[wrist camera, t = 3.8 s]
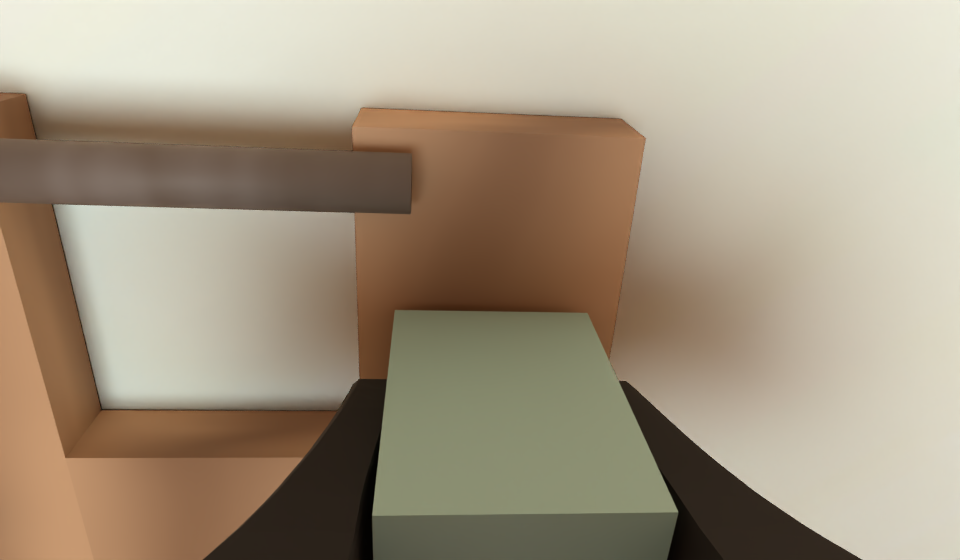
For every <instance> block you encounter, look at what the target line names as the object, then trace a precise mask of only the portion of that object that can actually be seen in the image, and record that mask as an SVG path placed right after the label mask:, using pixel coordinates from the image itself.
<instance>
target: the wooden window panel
mask: <svg viewBox="0 0 960 560" xmlns="http://www.w3.org/2000/svg"><path fill="white" fill-rule="evenodd" d="M645 139H646V138H645V137H644V136H642V135H641V134H640V133H638V132H637V131H636V130H635V129H633V128H632V127H631V126H630V125H628V124H627V123H626V122H625V121H623V120H622V119H612V118H588V117H564V116H540V115H516V114H493V113H469V112H445V111H421V110H397V109H373V108H361V110H360V112H359V114H358V116H357V118H356V120H355V122H354V124H353V126H352V142H353V151H336V150H308V149H281V148H253V147H226V146H199V145H171V144H144V143H116V142H89V141H61V140H36V136H35V132H34V128H33V124H32V120H31V116H30V111H29V107H28V103H27V99H26V95H25V94H16V93H0V560H203V559H204V558H205V557H206V556H207V555H208V554H210V553H211V552H212V551H213V550H214V549H215V548H216V547H217V546H219V545H220V544H221V543H222V542H223V541H224V540H225V539H227V538H228V537H229V536H230V535H231V534H232V533H233V532H234V531H236V530H237V529H238V528H239V527H240V526H241V525H242V524H243V523H244V522H245V521H246V520H247V519H248V518H249V517H250V516H251V515H252V514H253V513H254V512H255V511H256V510H257V509H258V508H259V507H260V506H261V505H262V504H263V503H264V502H265V501H266V500H267V499H268V498H269V497H270V496H271V495H272V493H273V492H274V491H275V490H276V489H277V488H278V487H279V486H280V485H281V484H282V482H283V481H284V480H285V479H286V478H287V476H288V475H289V474H290V473H291V472H292V471H293V469H294V468H295V467H296V466H297V465H298V463H299V462H300V461H301V460H302V459H303V458H304V456H305V455H306V454H307V453H308V451H309V450H310V449H311V447H312V446H313V445H314V443H315V442H316V441H317V439H318V438H319V437H320V435H321V434H322V432H323V431H324V430H325V428H326V427H327V426H328V424H329V423H330V421H331V420H332V418H333V417H334V415H335V414H336V412H337V411H164V410H101V407H100V403H99V399H98V395H97V390H96V386H95V382H94V378H93V374H92V370H91V365H90V361H89V357H88V353H87V349H86V345H85V340H84V336H83V332H82V328H81V324H80V320H79V315H78V311H77V307H76V303H75V299H74V295H73V290H72V286H71V282H70V278H69V274H68V270H67V265H66V261H65V257H64V253H63V249H62V245H61V241H60V236H59V232H58V228H57V224H56V220H55V216H54V211H53V207H52V204H69V205H104V206H139V207H174V208H209V209H243V210H278V211H313V212H348V213H355V242H356V275H357V308H358V341H359V374H360V379H387V376H388V367H389V358H390V349H391V339H392V330H393V321H394V312H395V310H430V311H497V312H564V313H588V315H589V317H590V320H591V322H592V324H593V326H594V328H595V331H596V333H597V335H598V337H599V339H600V342H601V344H602V346H603V348H604V350H605V352H606V355H607V357H608V359H609V358H610V352H611V346H612V340H613V334H614V328H615V322H616V316H617V309H618V303H619V297H620V291H621V285H622V279H623V273H624V267H625V261H626V255H627V249H628V243H629V236H630V230H631V224H632V218H633V212H634V206H635V200H636V194H637V188H638V182H639V176H640V170H641V163H642V157H643V151H644V145H645Z"/></svg>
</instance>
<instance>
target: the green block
mask: <svg viewBox="0 0 960 560" xmlns="http://www.w3.org/2000/svg"><path fill="white" fill-rule="evenodd" d="M677 516H678V510H677V508H676V506H675V504H674V502H673V499H672V497H671V495H670V493H669V491H668V488H667V486H666V484H665V482H664V480H663V477H662V475H661V473H660V471H659V469H658V466H657V464H656V462H655V460H654V458H653V455H652V453H651V451H650V449H649V447H648V445H647V442H646V440H645V438H644V436H643V434H642V431H641V429H640V427H639V425H638V423H637V420H636V418H635V416H634V414H633V412H632V409H631V407H630V405H629V403H628V401H627V399H626V396H625V394H624V392H623V390H622V388H621V385H620V383H619V381H618V379H617V377H616V374H615V372H614V370H613V368H612V366H611V363H610V361H609V359H608V357H607V355H606V352H605V350H604V348H603V346H602V344H601V342H600V339H599V337H598V335H597V333H596V331H595V328H594V326H593V324H592V322H591V320H590V317H589V315H588V313H564V312H497V311H430V310H395V312H394V321H393V330H392V339H391V349H390V358H389V367H388V376H387V385H386V394H385V403H384V412H383V421H382V430H381V439H380V449H379V458H378V467H377V476H376V485H375V494H374V503H373V512H372V532H373V560H667V557H668V553H669V549H670V545H671V541H672V537H673V533H674V529H675V524H676V520H677Z"/></svg>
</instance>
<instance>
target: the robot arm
mask: <svg viewBox="0 0 960 560" xmlns="http://www.w3.org/2000/svg"><path fill="white" fill-rule="evenodd" d="M619 383H620V385H621V388H622V390H623V392H624V394H625V396H626V399H627V401H628V403H629V405H630V407H631V409H632V412H633V414H634V416H635V418H636V420H637V423H638V425H639V427H640V429H641V431H642V434H643V436H644V438H645V440H646V442H647V445H648V447H649V449H650V451H651V453H652V455H653V458H654V460H655V462H656V464H657V466H658V469H659V471H660V473H661V475H662V477H663V480H664V482H665V484H666V486H667V488H668V491H669V493H670V495H671V497H672V499H673V502H674V504H675V506H676V508H677V510H678V516H677V520H676V524H675V529H674V533H673V537H672V541H671V545H670V549H669V553H668V557H667V560H862V559H860V558H858V557H857V556H855V555H853V554H851V553H850V552H848V551H846V550H845V549H843V548H841V547H839V546H838V545H836V544H834V543H832V542H831V541H829V540H827V539H826V538H824V537H822V536H821V535H819V534H817V533H816V532H814V531H813V530H811V529H809V528H808V527H806V526H805V525H803V524H801V523H800V522H798V521H797V520H795V519H794V518H793V517H791V516H790V515H788V514H787V513H785V512H784V511H782V510H781V509H779V508H778V507H776V506H775V505H773V504H772V503H770V502H769V501H767V500H766V499H765V498H763V497H762V496H760V495H759V494H758V493H756V492H755V491H753V490H752V489H751V488H749V487H748V486H747V485H746V484H744V483H743V482H742V481H740V480H739V479H738V478H737V477H735V476H734V475H733V474H731V473H730V472H729V471H728V470H726V469H725V468H724V467H723V466H721V465H720V464H719V463H718V462H716V461H715V460H714V459H713V458H712V457H710V456H709V455H708V454H707V453H706V452H704V451H703V450H702V449H701V448H700V447H699V446H697V445H696V444H695V443H694V442H693V441H692V440H690V439H689V438H688V437H687V436H686V435H685V434H684V433H683V432H681V431H680V430H679V429H678V428H677V427H676V426H675V425H674V424H673V423H671V422H670V421H669V420H668V419H667V418H666V417H665V416H664V415H663V414H662V413H661V412H660V411H658V410H657V409H656V408H655V407H654V406H653V405H652V404H651V403H650V402H649V401H648V400H647V399H646V398H644V397H643V396H642V395H641V394H640V393H639V392H638V391H637V390H636V389H635V388H633V387H632V386H631V385H630V384H629V383H628V382H626V381H619ZM386 385H387V379H359V380H358V381H356V382H355V383H354V384H353V385H352V387H351V389H350V391H349V393H348V395H347V396H346V398H345V400H344V401H343V403H342V405H341V406H340V408H339V409H338V411H337V412H336V414H335V415H334V417H333V418H332V420H331V421H330V423H329V424H328V426H327V427H326V428H325V430H324V431H323V432H322V434H321V435H320V437H319V438H318V439H317V441H316V442H315V443H314V445H313V446H312V447H311V449H310V450H309V451H308V453H307V454H306V455H305V456H304V458H303V459H302V460H301V461H300V462H299V463H298V465H297V466H296V467H295V468H294V469H293V471H292V472H291V473H290V474H289V475H288V476H287V478H286V479H285V480H284V481H283V482H282V484H281V485H280V486H279V487H278V488H277V489H276V490H275V491H274V492H273V493H272V495H271V496H270V497H269V498H268V499H267V500H266V501H265V502H264V503H263V504H262V505H261V506H260V507H259V508H258V509H257V510H256V511H255V512H254V513H253V514H252V515H251V516H250V517H249V518H248V519H247V520H246V521H245V522H244V523H243V524H242V525H241V526H240V527H239V528H238V529H237V530H236V531H234V532H233V533H232V534H231V535H230V536H229V537H228V538H227V539H225V540H224V541H223V542H222V543H221V544H220V545H219V546H217V547H216V548H215V549H214V550H213V551H212V552H211V553H210V554H208V555H207V556H206V557H205V558H204V559H203V560H373V532H372V512H373V503H374V494H375V485H376V476H377V467H378V458H379V449H380V439H381V430H382V421H383V412H384V403H385V394H386Z"/></svg>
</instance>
